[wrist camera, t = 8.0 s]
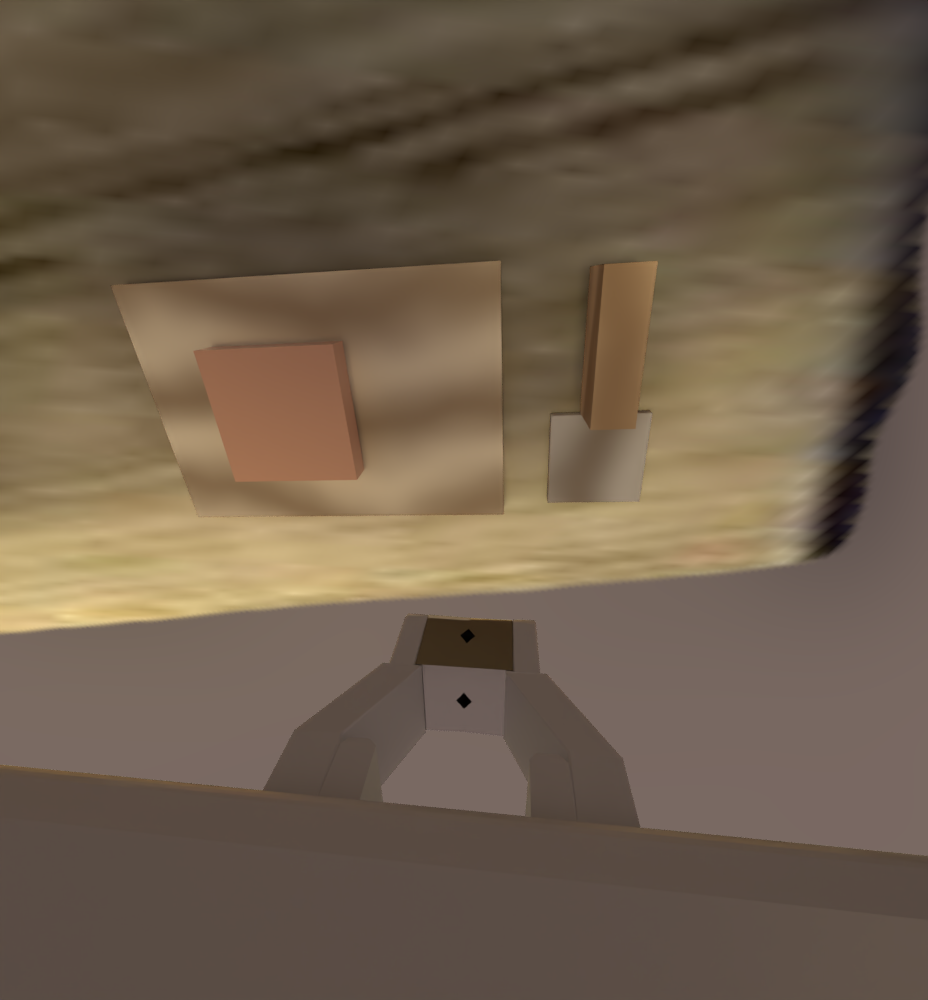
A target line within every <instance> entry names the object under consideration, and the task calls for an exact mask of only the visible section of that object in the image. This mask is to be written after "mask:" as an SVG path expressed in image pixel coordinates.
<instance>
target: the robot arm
mask: <svg viewBox="0 0 928 1000" xmlns="http://www.w3.org/2000/svg"><path fill="white" fill-rule="evenodd" d="M426 730H441V731H442V730H443V731H460V732H464V731H465V732H472V733H480V734H490V735H499V736H503V738H504V740H505V742H506V744H507V745H508V747H509V749H510V751H511V753H512V754H513V756H514V758H515V759H516V762H517V764H518V765H519V767H520V769H521V771H522V772H523V774H524V776H525V778H526V780H527V782H528V786H527V799H526V812H525V816H517V815H507V814H497V813H486V812H476V811H466V810H456V809H446V808H436V807H426V806H416V805H405V804H395V803H385V802H383V797H382V790H381V786H382V784H383V783H384V782H385V781H386V780H387V778H388V777H389V776H390V775H391V774H392V772H393V771H394V770H395V769H396V768H397V766H398V765H399V764H400V763H401V761H402V760H403V759H404V758H405V757H406V755H407V754H408V753H409V752H410V751H411V749H412V748H413V747H414V746H415V745H416V743H417V742H418V741H419V740H420V738H421V737H422V736H423V735H424V734H425V732H426ZM0 1000H928V856H924V855H912V854H903V853H893V852H882V851H873V850H863V849H853V848H843V847H832V846H822V845H812V844H802V843H792V842H782V841H771V840H761V839H752V838H741V837H731V836H721V835H711V834H701V833H691V832H681V831H671V830H660V829H650V828H640V824H639V820H638V816H637V812H636V808H635V804H634V800H633V797H632V793H631V789H630V785H629V781H628V777H627V773H626V769H625V765H624V761H623V758H622V757H621V756H620V755H619V754H618V753H617V752H616V750H615V749H614V748H613V747H612V746H611V745H610V744H609V743H608V742H607V740H606V739H605V738H604V737H603V736H602V735H601V734H600V733H599V732H598V730H597V729H596V728H595V727H594V726H593V725H592V724H591V723H590V721H589V720H588V719H587V718H586V717H585V716H584V715H583V714H582V713H581V712H580V710H579V709H578V708H577V707H576V706H575V705H574V704H573V703H572V701H571V700H570V699H569V698H568V697H567V696H566V695H565V694H564V693H563V691H562V690H561V689H560V688H559V687H558V686H557V685H556V684H555V682H554V681H553V680H552V679H551V678H550V677H549V676H548V675H547V674H541V673H540V666H539V655H538V643H537V631H536V623H535V621H534V620H513V621H512V620H497V619H477V618H463V617H452V616H439V615H423V614H408V615H407V616H406V617H405V619H404V622H403V625H402V628H401V631H400V634H399V637H398V640H397V643H396V645H395V648H394V651H393V654H392V657H391V660H390V663H382V664H381V665H380V666H378V667H377V668H376V669H374V670H373V671H372V672H371V673H369V674H368V675H366V676H365V677H364V678H363V679H361V680H360V681H359V682H357V683H356V684H355V685H353V686H352V687H351V688H349V689H348V690H347V691H346V692H344V693H343V694H341V695H340V696H339V697H337V698H336V699H335V700H334V701H332V702H331V703H330V704H328V705H327V706H326V707H325V708H323V709H322V710H320V711H319V712H318V713H316V714H315V715H314V716H312V717H311V718H310V719H308V720H307V721H306V722H305V723H303V724H302V725H301V726H299V727H298V728H297V729H295V730H294V732H293V734H292V736H291V738H290V739H289V741H288V743H287V745H286V747H285V749H284V751H283V753H282V755H281V757H280V758H279V760H278V763H277V764H276V766H275V768H274V770H273V772H272V774H271V776H270V778H269V780H268V781H267V784H266V785H265V787H264V789H263V790H253V789H243V788H233V787H222V786H212V785H202V784H192V783H182V782H172V781H162V780H150V779H141V778H131V777H121V776H110V775H100V774H90V773H80V772H69V771H60V770H49V769H38V768H29V767H18V766H9V765H0Z"/></svg>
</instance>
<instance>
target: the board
mask: <svg viewBox="0 0 928 1000" xmlns="http://www.w3.org/2000/svg"><path fill="white" fill-rule="evenodd" d="M110 286H111V288H112V291H113V294H114V296H115V299H116V301H117V304H118V307H119V309H120V312H121V315H122V317H123V320H124V322H125V325H126V328H127V330H128V333H129V336H130V338H131V341H132V344H133V346H134V349H135V351H136V354H137V357H138V359H139V362H140V365H141V367H142V370H143V372H144V375H145V378H146V380H147V383H148V386H149V388H150V391H151V394H152V396H153V399H154V401H155V404H156V407H157V409H158V412H159V415H160V417H161V420H162V422H163V425H164V428H165V430H166V433H167V436H168V438H169V441H170V443H171V446H172V449H173V451H174V454H175V457H176V459H177V462H178V465H179V467H180V470H181V472H182V475H183V478H184V480H185V483H186V486H187V488H188V491H189V493H190V496H191V499H192V501H193V504H194V507H195V509H196V512H197V515H198V517H246V516H364V515H483V514H504V495H503V414H502V332H501V261H486V262H471V263H455V264H439V265H423V266H408V267H392V268H376V269H360V270H345V271H329V272H313V273H297V274H282V275H266V276H250V277H234V278H219V279H203V280H187V281H171V282H156V283H140V284H124V285H110ZM324 341H342V342H343V348H344V353H345V359H346V365H347V371H348V377H349V383H350V389H351V394H352V400H353V406H354V412H355V418H356V424H357V430H358V435H359V441H360V447H361V453H362V459H363V465H364V471H363V472H362V474H361V475H360V477H359V478H358V479H357V480H319V481H258V482H235V479H234V476H233V473H232V470H231V466H230V463H229V460H228V457H227V454H226V451H225V448H224V445H223V442H222V438H221V435H220V432H219V429H218V426H217V423H216V420H215V417H214V414H213V411H212V407H211V404H210V401H209V398H208V395H207V392H206V389H205V386H204V383H203V379H202V376H201V373H200V370H199V367H198V364H197V361H196V358H195V355H194V352H193V351H195V350H199V349H204V348H208V347H219V346H240V345H261V344H282V343H303V342H324Z"/></svg>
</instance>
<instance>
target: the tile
mask: <svg viewBox="0 0 928 1000" xmlns="http://www.w3.org/2000/svg"><path fill="white" fill-rule="evenodd" d="M193 352H194V355H195V358H196V361H197V364H198V367H199V370H200V373H201V376H202V379H203V383H204V386H205V389H206V392H207V395H208V398H209V401H210V404H211V407H212V411H213V414H214V417H215V420H216V423H217V426H218V429H219V432H220V435H221V438H222V442H223V445H224V448H225V451H226V454H227V457H228V460H229V463H230V466H231V470H232V473H233V476H234V479H235V482H258V481H319V480H357V479H358V478H359V477H360V475H361V474H362V472H363V471H364V465H363V459H362V453H361V447H360V441H359V435H358V430H357V424H356V418H355V412H354V406H353V400H352V394H351V389H350V383H349V377H348V371H347V365H346V359H345V353H344V348H343V342H342V341H324V342H303V343H282V344H261V345H240V346H219V347H208V348H204V349H199V350H195V351H193Z"/></svg>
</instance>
